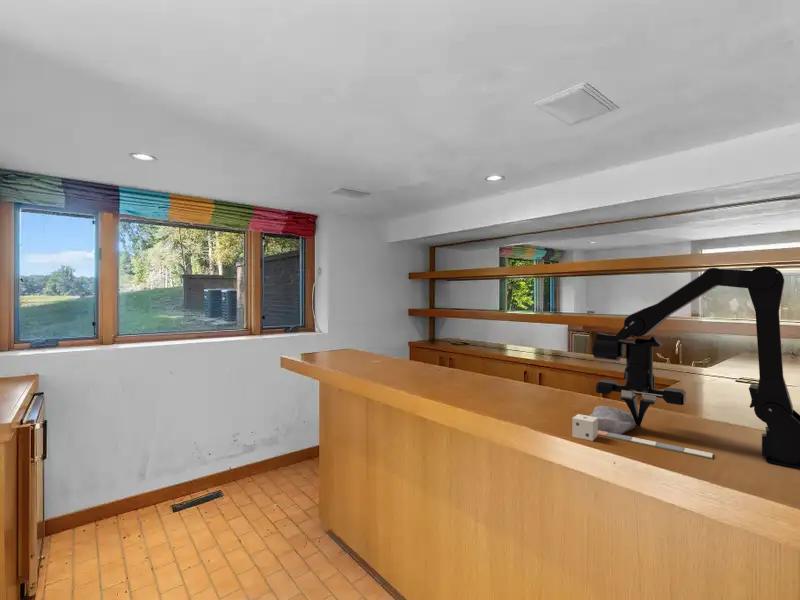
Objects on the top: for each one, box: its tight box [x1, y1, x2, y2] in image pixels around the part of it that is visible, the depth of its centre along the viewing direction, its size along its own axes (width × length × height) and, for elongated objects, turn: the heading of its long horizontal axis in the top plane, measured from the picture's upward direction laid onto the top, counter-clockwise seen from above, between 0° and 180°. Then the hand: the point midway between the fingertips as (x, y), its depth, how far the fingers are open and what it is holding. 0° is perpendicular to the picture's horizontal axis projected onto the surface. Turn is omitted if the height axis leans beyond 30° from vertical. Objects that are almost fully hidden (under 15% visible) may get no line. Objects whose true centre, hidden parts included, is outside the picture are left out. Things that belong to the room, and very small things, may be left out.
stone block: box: [589, 405, 636, 435], centre depth 103 cm, size 12×5×10 cm
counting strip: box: [598, 430, 714, 460], centre depth 91 cm, size 25×3×1 cm, turn 50°
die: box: [571, 413, 599, 442], centre depth 95 cm, size 4×4×4 cm
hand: (638, 425), depth 99 cm, fingers closed
